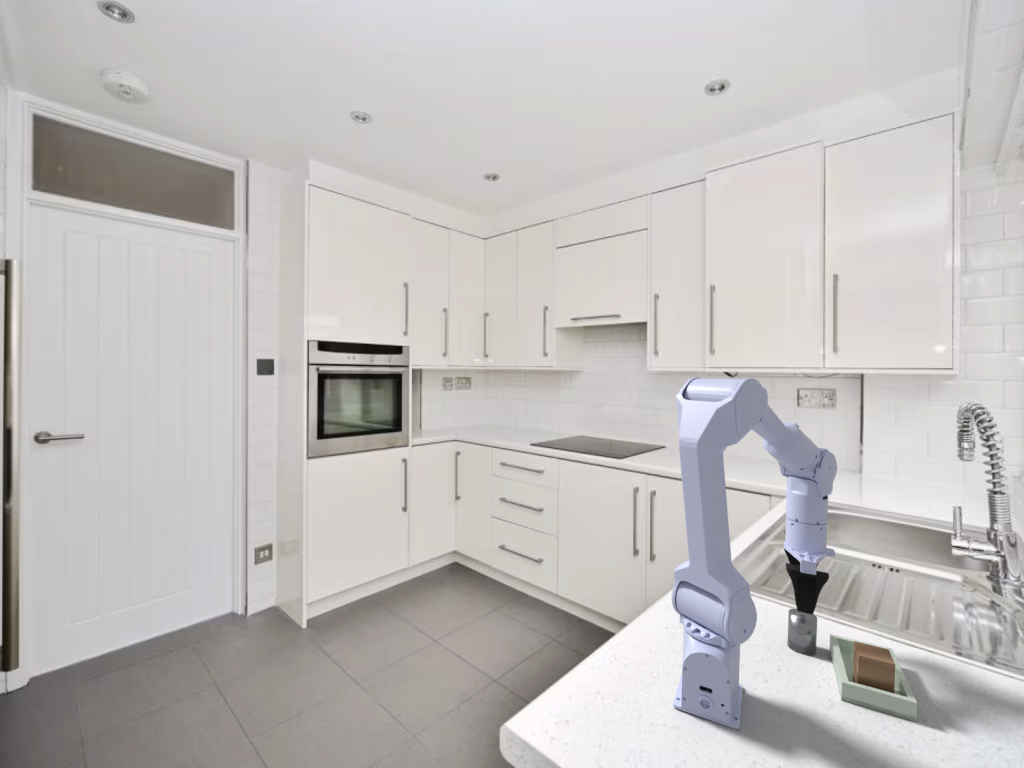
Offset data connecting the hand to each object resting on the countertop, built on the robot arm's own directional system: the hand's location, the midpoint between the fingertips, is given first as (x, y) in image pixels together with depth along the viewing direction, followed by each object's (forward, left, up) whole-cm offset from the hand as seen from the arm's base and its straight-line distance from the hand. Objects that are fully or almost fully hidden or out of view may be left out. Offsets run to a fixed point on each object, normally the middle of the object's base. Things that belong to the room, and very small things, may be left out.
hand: (803, 601), depth 76 cm
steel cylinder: (0, 0, -8) cm, 8 cm away
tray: (-5, -8, -8) cm, 12 cm away
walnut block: (-9, -8, -7) cm, 14 cm away
